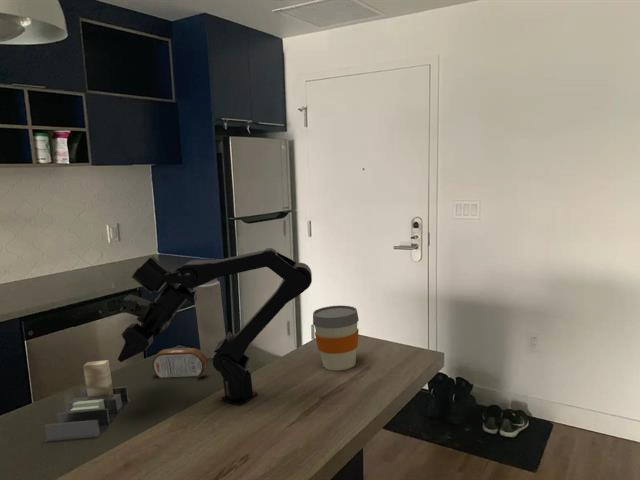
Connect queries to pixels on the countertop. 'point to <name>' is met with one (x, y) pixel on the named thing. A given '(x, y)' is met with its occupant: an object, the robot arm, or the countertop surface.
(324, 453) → the countertop surface
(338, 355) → the reusable coffee cup
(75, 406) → the offcuts
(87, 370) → the light wooden block
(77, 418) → the rack
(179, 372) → the tin
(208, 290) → the thermos bottle
